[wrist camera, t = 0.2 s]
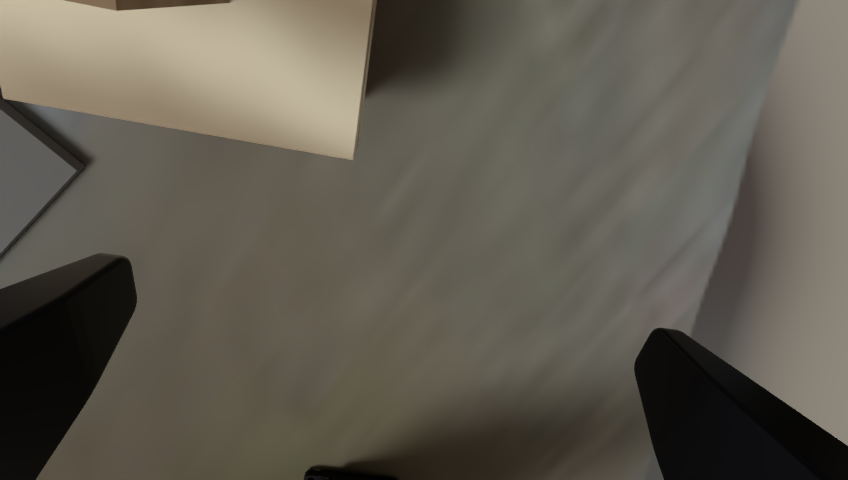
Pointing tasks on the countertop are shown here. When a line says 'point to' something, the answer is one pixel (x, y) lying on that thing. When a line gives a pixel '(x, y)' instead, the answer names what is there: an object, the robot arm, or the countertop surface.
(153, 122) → the lid
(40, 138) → the mat
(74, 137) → the countertop surface
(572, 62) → the countertop surface
